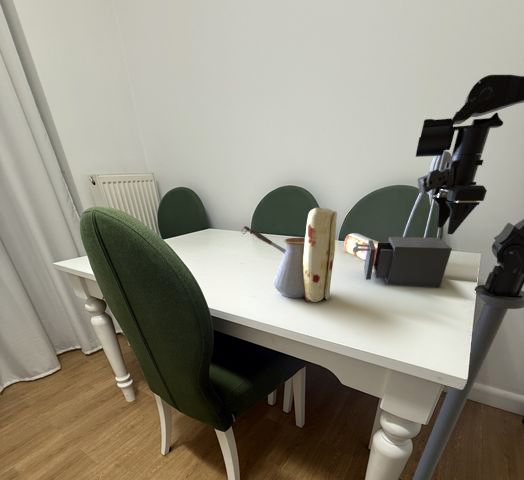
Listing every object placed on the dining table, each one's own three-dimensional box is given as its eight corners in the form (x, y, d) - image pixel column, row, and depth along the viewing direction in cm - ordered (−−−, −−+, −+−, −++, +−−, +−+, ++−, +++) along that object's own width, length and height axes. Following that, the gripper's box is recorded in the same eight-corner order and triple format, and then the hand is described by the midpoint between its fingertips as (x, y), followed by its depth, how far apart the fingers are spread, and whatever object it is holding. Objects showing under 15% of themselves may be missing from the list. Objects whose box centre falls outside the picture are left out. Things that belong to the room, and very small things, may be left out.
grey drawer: (349, 278, 80) (353, 248, 75) (349, 266, 89) (352, 239, 85) (412, 281, 76) (420, 250, 72) (405, 269, 86) (411, 241, 81)
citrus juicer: (396, 259, 98) (419, 152, 82) (422, 257, 99) (450, 151, 83) (417, 269, 88) (447, 150, 73) (446, 266, 90) (482, 149, 74)
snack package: (390, 266, 92) (395, 243, 88) (371, 267, 91) (375, 245, 87) (358, 251, 110) (361, 232, 106) (342, 252, 108) (344, 233, 105)
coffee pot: (325, 289, 76) (330, 228, 68) (306, 304, 67) (310, 236, 60) (257, 277, 86) (255, 222, 78) (233, 289, 77) (228, 229, 70)
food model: (307, 290, 75) (312, 204, 65) (333, 293, 73) (342, 205, 63) (296, 304, 68) (301, 210, 57) (325, 308, 66) (335, 210, 55)
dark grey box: (387, 284, 77) (395, 246, 72) (382, 270, 88) (389, 236, 83) (439, 287, 75) (452, 248, 69) (428, 272, 85) (438, 237, 80)
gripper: (418, 157, 73) (403, 224, 81) (436, 154, 58) (416, 237, 66) (467, 155, 70) (447, 224, 79) (500, 152, 55) (471, 238, 63)
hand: (444, 230), depth 72 cm, fingers open, 9 cm apart
